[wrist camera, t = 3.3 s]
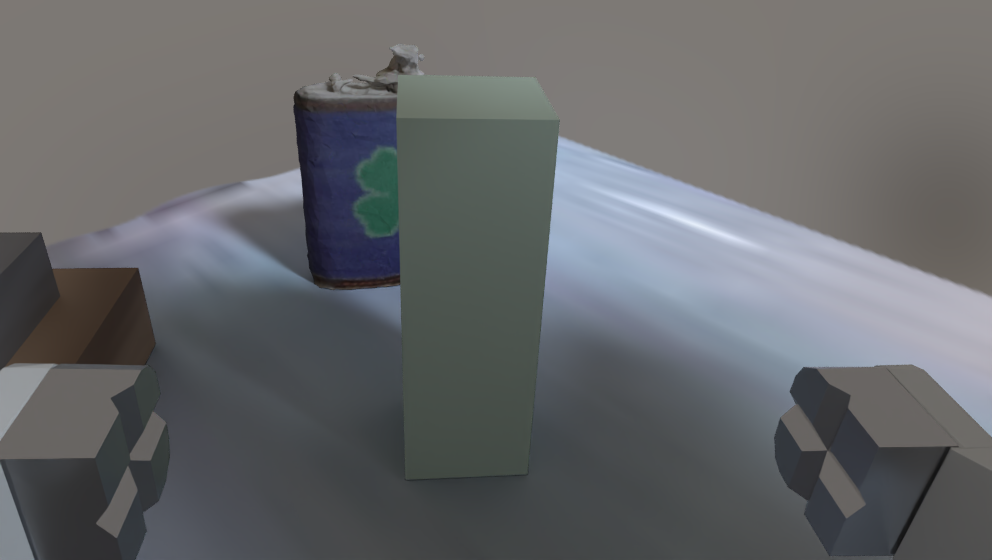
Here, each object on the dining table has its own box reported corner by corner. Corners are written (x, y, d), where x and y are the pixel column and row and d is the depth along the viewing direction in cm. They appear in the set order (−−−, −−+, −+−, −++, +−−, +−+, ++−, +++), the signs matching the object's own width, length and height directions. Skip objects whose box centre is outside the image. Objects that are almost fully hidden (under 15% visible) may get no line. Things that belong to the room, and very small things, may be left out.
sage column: (512, 396, 27) (535, 77, 21) (527, 474, 24) (559, 120, 18) (405, 400, 27) (398, 74, 21) (405, 479, 23) (396, 118, 17)
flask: (486, 244, 38) (494, 33, 33) (505, 271, 36) (518, 48, 30) (306, 267, 35) (283, 40, 30) (314, 298, 33) (290, 57, 27)
